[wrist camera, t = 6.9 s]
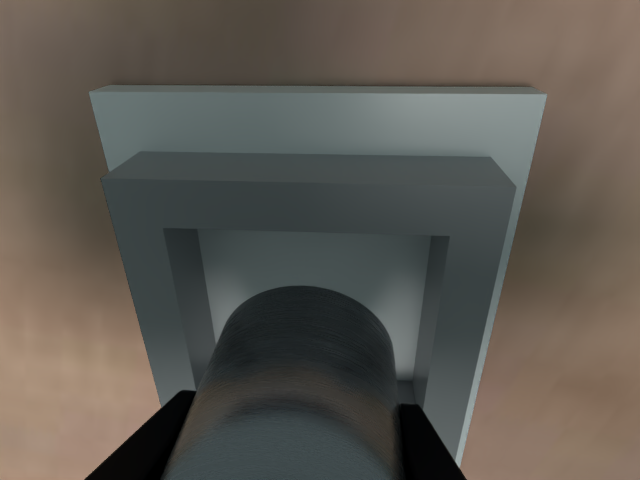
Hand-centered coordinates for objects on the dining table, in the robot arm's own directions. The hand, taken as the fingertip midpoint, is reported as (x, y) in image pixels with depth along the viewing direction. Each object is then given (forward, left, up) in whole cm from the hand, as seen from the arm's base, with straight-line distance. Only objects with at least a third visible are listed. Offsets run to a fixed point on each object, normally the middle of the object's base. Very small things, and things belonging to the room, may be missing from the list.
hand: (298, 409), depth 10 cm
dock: (0, +4, -5) cm, 6 cm away
